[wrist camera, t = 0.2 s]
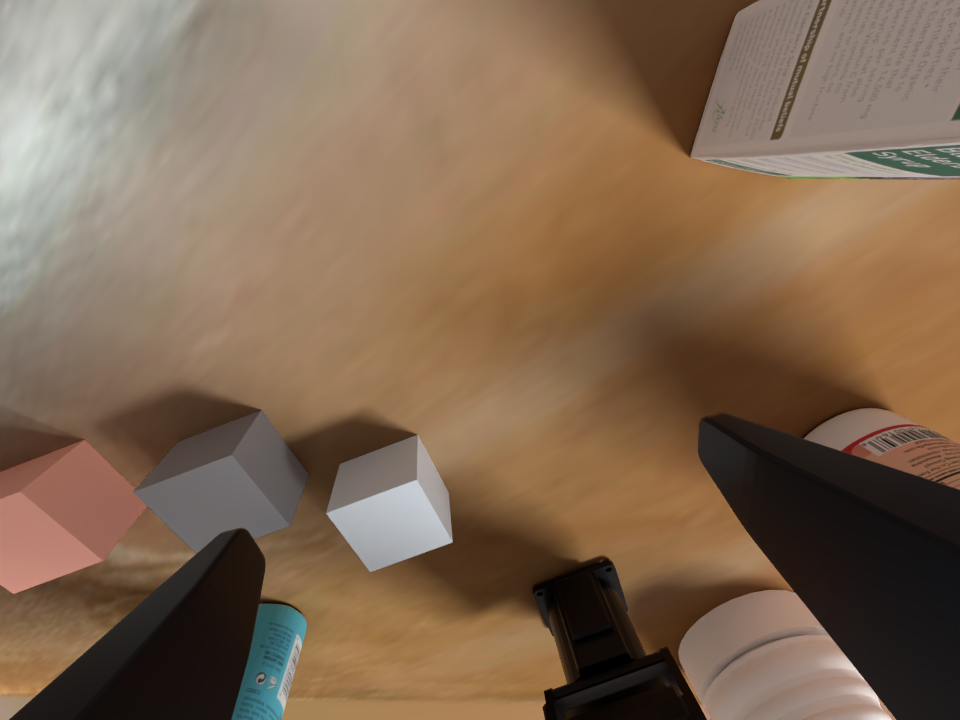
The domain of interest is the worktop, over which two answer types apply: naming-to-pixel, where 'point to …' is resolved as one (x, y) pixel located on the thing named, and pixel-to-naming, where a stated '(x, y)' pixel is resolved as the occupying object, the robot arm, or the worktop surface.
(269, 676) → the tube
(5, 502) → the coral brick
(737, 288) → the worktop surface
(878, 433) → the fruit juice
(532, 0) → the worktop surface
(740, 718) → the honey pot
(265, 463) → the charcoal brick
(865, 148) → the syrup box
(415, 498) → the white brick
